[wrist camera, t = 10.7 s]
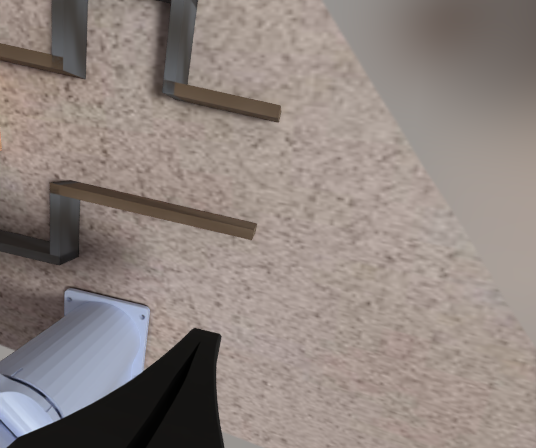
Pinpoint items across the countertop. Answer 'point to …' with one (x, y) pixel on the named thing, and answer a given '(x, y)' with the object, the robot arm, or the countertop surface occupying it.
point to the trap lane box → (174, 85)
